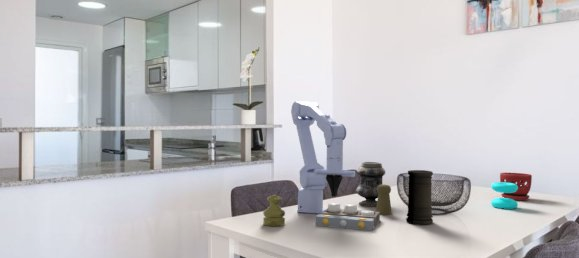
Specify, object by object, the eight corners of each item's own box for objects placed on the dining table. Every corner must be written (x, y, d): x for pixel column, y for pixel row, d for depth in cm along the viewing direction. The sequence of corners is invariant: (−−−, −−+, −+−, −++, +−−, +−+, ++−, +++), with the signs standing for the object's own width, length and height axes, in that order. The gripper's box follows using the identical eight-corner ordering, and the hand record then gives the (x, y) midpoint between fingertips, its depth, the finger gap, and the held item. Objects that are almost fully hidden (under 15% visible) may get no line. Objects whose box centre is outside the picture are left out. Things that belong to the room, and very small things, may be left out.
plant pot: (537, 201, 201) (537, 175, 201) (507, 201, 201) (508, 174, 201) (522, 196, 214) (522, 171, 214) (494, 196, 214) (495, 171, 214)
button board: (320, 221, 157) (320, 213, 157) (328, 216, 166) (328, 207, 166) (375, 226, 150) (375, 217, 150) (379, 220, 160) (379, 211, 160)
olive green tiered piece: (268, 227, 147) (269, 197, 147) (259, 223, 154) (259, 194, 154) (288, 225, 151) (289, 195, 151) (279, 221, 157) (279, 192, 157)
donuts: (504, 185, 180) (486, 182, 190) (503, 210, 181) (485, 205, 190) (523, 184, 184) (504, 181, 193) (523, 209, 184) (504, 204, 193)
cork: (391, 215, 169) (392, 186, 169) (375, 214, 170) (375, 185, 170) (391, 212, 175) (391, 184, 174) (375, 211, 176) (376, 183, 176)
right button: (359, 222, 155) (360, 212, 155) (362, 220, 159) (362, 210, 159) (372, 223, 154) (372, 213, 154) (374, 221, 158) (374, 211, 158)
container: (433, 220, 160) (433, 170, 160) (432, 226, 151) (433, 173, 151) (407, 218, 163) (407, 169, 163) (405, 224, 154) (405, 171, 154)
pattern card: (315, 225, 151) (315, 216, 151) (318, 222, 155) (319, 213, 155) (371, 230, 145) (372, 220, 145) (374, 227, 149) (374, 218, 149)
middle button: (342, 216, 157) (343, 206, 157) (345, 213, 161) (345, 203, 161) (355, 217, 156) (355, 206, 156) (357, 214, 160) (358, 204, 160)
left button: (326, 214, 159) (326, 204, 159) (329, 212, 163) (329, 202, 163) (338, 215, 158) (338, 205, 158) (341, 213, 162) (341, 203, 162)
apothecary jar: (391, 205, 189) (391, 162, 189) (370, 208, 183) (370, 163, 182) (370, 200, 199) (371, 160, 199) (350, 203, 193) (350, 161, 192)
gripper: (311, 158, 159) (311, 196, 159) (352, 159, 154) (351, 199, 154) (317, 156, 166) (317, 193, 166) (356, 158, 161) (356, 196, 161)
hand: (334, 196), depth 160 cm, fingers closed
